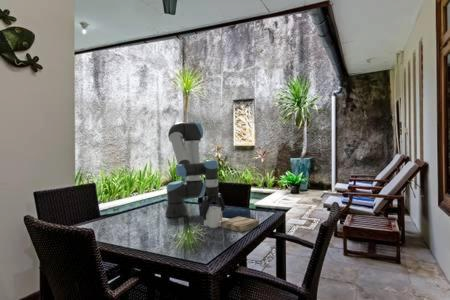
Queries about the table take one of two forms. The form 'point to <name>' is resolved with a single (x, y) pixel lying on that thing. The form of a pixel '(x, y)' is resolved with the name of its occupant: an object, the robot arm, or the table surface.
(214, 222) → the cup
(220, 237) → the table surface
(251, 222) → the plinth block
